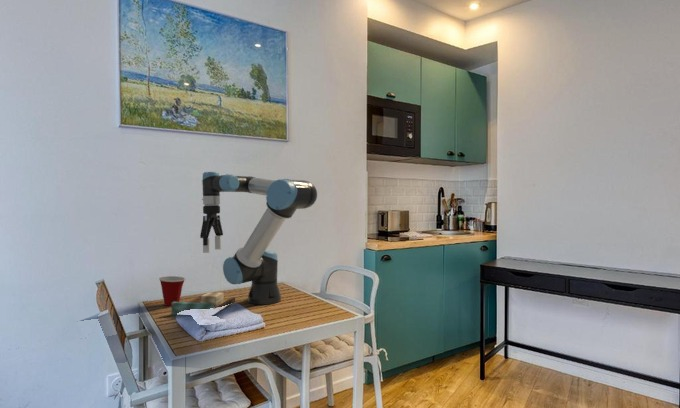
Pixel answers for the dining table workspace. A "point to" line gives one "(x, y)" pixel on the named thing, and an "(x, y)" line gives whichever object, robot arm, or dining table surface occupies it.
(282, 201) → the robot arm
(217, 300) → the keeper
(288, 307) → the dining table surface
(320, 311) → the dining table surface
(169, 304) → the plastic cup
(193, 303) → the guide track
